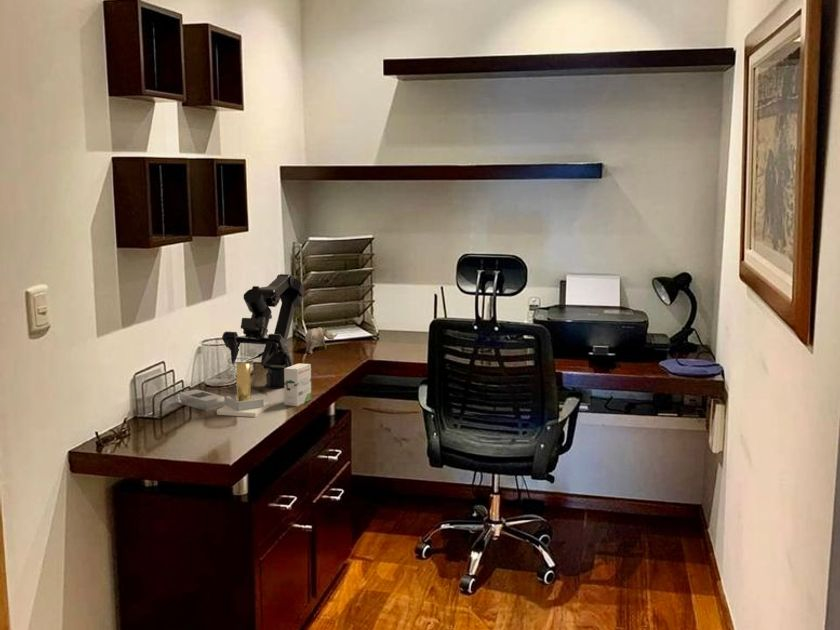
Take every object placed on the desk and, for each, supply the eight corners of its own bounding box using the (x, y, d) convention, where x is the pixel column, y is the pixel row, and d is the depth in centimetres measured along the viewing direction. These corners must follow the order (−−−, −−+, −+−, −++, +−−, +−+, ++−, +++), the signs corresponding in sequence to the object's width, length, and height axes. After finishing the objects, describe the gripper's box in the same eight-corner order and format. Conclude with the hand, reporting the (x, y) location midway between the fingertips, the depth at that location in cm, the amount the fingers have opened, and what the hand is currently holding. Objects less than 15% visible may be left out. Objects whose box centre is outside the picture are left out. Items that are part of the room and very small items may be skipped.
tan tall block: (241, 404, 255) (241, 362, 253) (253, 405, 253) (252, 363, 252) (234, 407, 251) (233, 364, 249) (246, 408, 250) (245, 365, 248)
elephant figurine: (292, 346, 337) (308, 314, 342) (308, 361, 348) (323, 329, 353) (308, 350, 333) (323, 318, 339) (323, 365, 345) (338, 333, 350)
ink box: (298, 398, 267) (298, 362, 265) (312, 400, 265) (311, 363, 263) (283, 404, 259) (283, 367, 258) (297, 406, 257) (296, 369, 256)
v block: (232, 404, 259) (231, 392, 258) (269, 406, 257) (269, 394, 257) (216, 414, 247) (216, 402, 247) (255, 416, 245) (255, 404, 245)
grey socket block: (177, 402, 260) (177, 393, 259) (196, 398, 265) (196, 389, 265) (205, 410, 251) (205, 401, 251) (224, 406, 257) (224, 396, 256)
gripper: (223, 305, 258) (209, 347, 249) (281, 308, 255) (270, 351, 246) (233, 326, 267) (220, 367, 258) (290, 329, 264) (278, 371, 255)
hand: (247, 364), depth 254 cm, fingers open, 9 cm apart
